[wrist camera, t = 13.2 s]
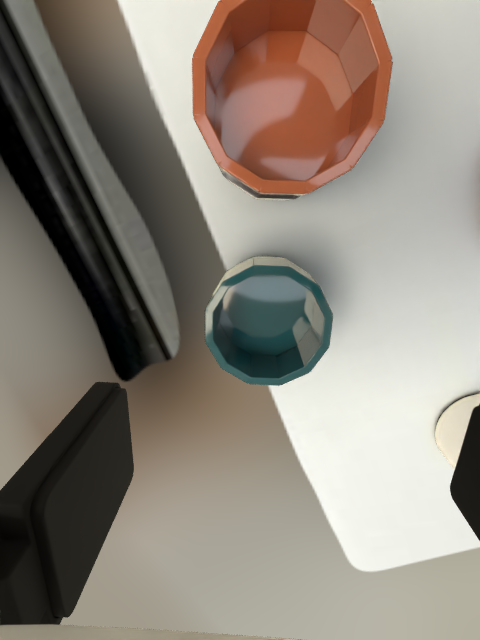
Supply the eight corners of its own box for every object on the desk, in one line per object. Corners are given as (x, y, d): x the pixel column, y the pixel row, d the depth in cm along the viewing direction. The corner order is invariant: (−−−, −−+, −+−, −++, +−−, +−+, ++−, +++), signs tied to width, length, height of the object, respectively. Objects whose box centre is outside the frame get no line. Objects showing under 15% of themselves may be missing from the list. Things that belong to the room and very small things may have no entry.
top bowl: (215, 251, 24) (204, 263, 19) (320, 254, 24) (338, 268, 18) (214, 347, 26) (204, 382, 21) (310, 351, 26) (324, 387, 21)
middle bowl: (209, 37, 17) (190, -38, 12) (359, 39, 17) (407, -35, 11) (209, 195, 19) (193, 190, 14) (341, 198, 19) (374, 196, 14)
